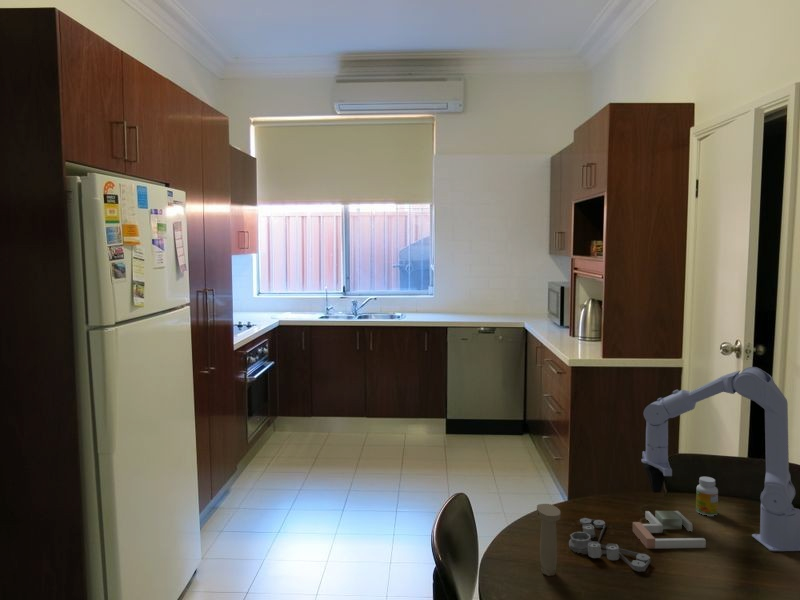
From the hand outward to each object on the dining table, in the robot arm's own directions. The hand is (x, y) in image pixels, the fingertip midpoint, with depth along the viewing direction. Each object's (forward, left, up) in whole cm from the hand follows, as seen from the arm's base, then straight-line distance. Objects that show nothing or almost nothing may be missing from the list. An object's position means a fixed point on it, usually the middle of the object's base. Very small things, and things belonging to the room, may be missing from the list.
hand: (656, 491), depth 160 cm
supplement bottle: (-14, +1, -6) cm, 15 cm away
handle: (+38, +31, -6) cm, 49 cm away
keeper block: (0, +8, -6) cm, 10 cm away
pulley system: (+23, +19, -7) cm, 30 cm away
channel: (+2, +12, -6) cm, 13 cm away
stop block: (+10, +16, -6) cm, 19 cm away
